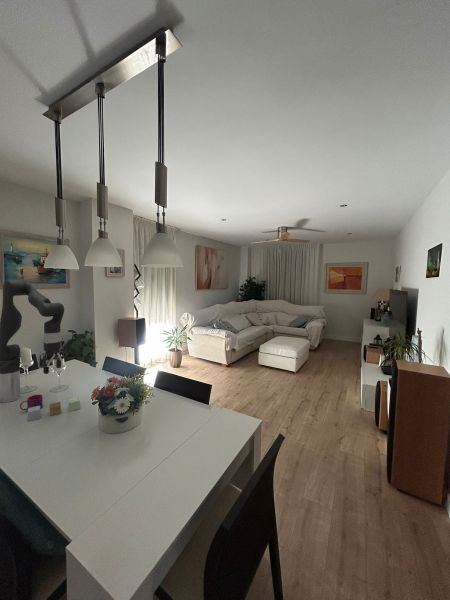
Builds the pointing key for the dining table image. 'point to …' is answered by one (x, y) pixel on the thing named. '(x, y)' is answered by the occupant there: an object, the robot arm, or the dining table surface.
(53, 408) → the walnut cube
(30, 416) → the slate cube
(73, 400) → the sage cube
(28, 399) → the mug
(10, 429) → the dining table surface
